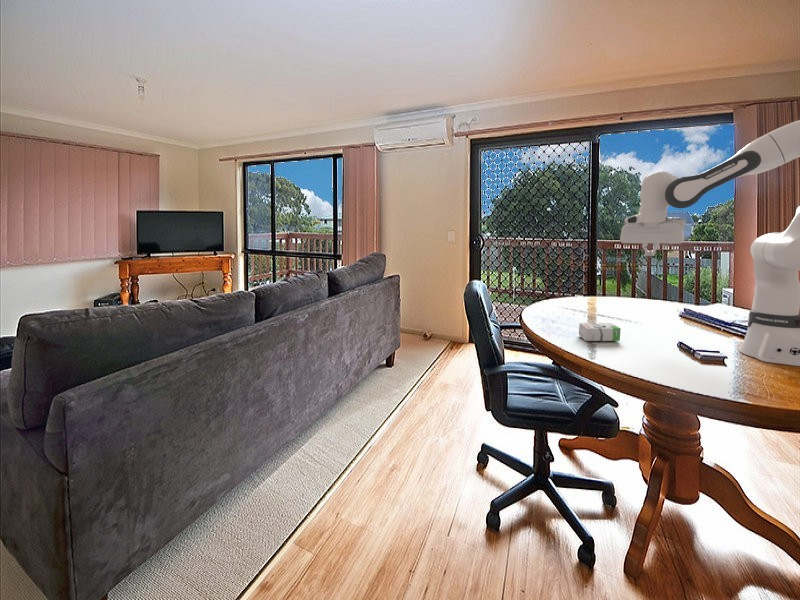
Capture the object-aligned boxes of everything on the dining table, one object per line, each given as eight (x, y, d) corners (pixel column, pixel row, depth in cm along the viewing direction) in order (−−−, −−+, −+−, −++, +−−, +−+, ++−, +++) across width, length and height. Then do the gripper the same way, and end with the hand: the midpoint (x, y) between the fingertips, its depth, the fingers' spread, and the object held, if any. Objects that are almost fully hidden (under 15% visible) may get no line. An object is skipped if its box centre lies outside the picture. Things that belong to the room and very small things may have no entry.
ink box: (621, 328, 146) (587, 328, 147) (620, 341, 147) (586, 341, 148) (611, 322, 155) (578, 322, 156) (610, 335, 156) (578, 335, 157)
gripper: (688, 216, 146) (684, 255, 149) (624, 218, 160) (622, 254, 163) (684, 217, 142) (681, 257, 144) (620, 219, 156) (617, 255, 158)
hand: (649, 255), depth 154 cm, fingers closed
